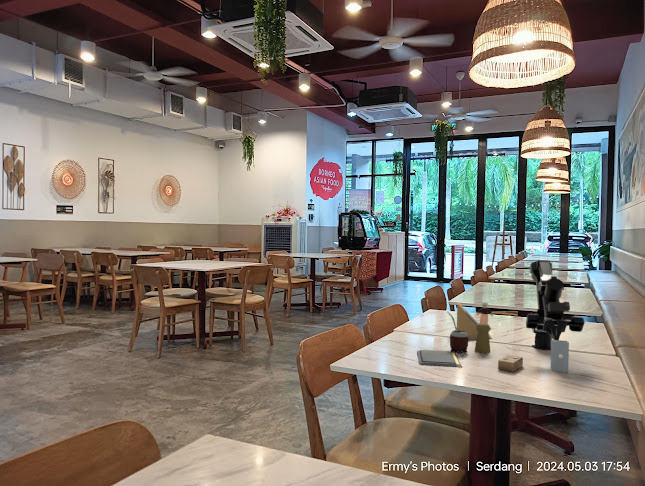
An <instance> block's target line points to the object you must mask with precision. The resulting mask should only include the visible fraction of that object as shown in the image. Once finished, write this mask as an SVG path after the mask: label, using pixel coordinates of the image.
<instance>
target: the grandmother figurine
mask: <svg viewBox="0 0 645 486" xmlns="http://www.w3.org/2000/svg"><path fill="white" fill-rule="evenodd" d="M488 307H489V302H487V301H486V300H484V301H482V302H481V308H480V309H478V311H477V313H476V316H479V315H480V316H479V323H486V324H488V325H489V315H490V317H494V315H493V313H492V312H493V311H491V309H489V308H488Z"/></svg>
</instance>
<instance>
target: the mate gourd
mask: <svg viewBox="0 0 645 486" xmlns="http://www.w3.org/2000/svg"><path fill="white" fill-rule="evenodd" d="M446 313H447V314H448V315H449V316H450V317H451V320H452V321H453V322H452V323H453V326H454V329H455V330H452V331H451V332H450V335H449V345H450V352H451V353H458V355H461V353H465V354H466V353H468V346H469V342H470V341H469V338H468V335H467V333H466V332H465V331H460V330H457V323H456V322H455V321H456V320H455V317H454V316H453V315H452V314H451V313H450V312H449V311H447V312H446Z"/></svg>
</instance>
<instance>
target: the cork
mask: <svg viewBox="0 0 645 486" xmlns="http://www.w3.org/2000/svg"><path fill="white" fill-rule="evenodd" d="M478 323H479V324H477V326H476V329H477V331H478V333H477V338H475V339H476V341H475V346H474V352H477V353H480V354H489V353H491V343H490V339H489V334H490V331H491V326H490V325H489V323H488V324H486V323H480V322H478Z"/></svg>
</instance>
